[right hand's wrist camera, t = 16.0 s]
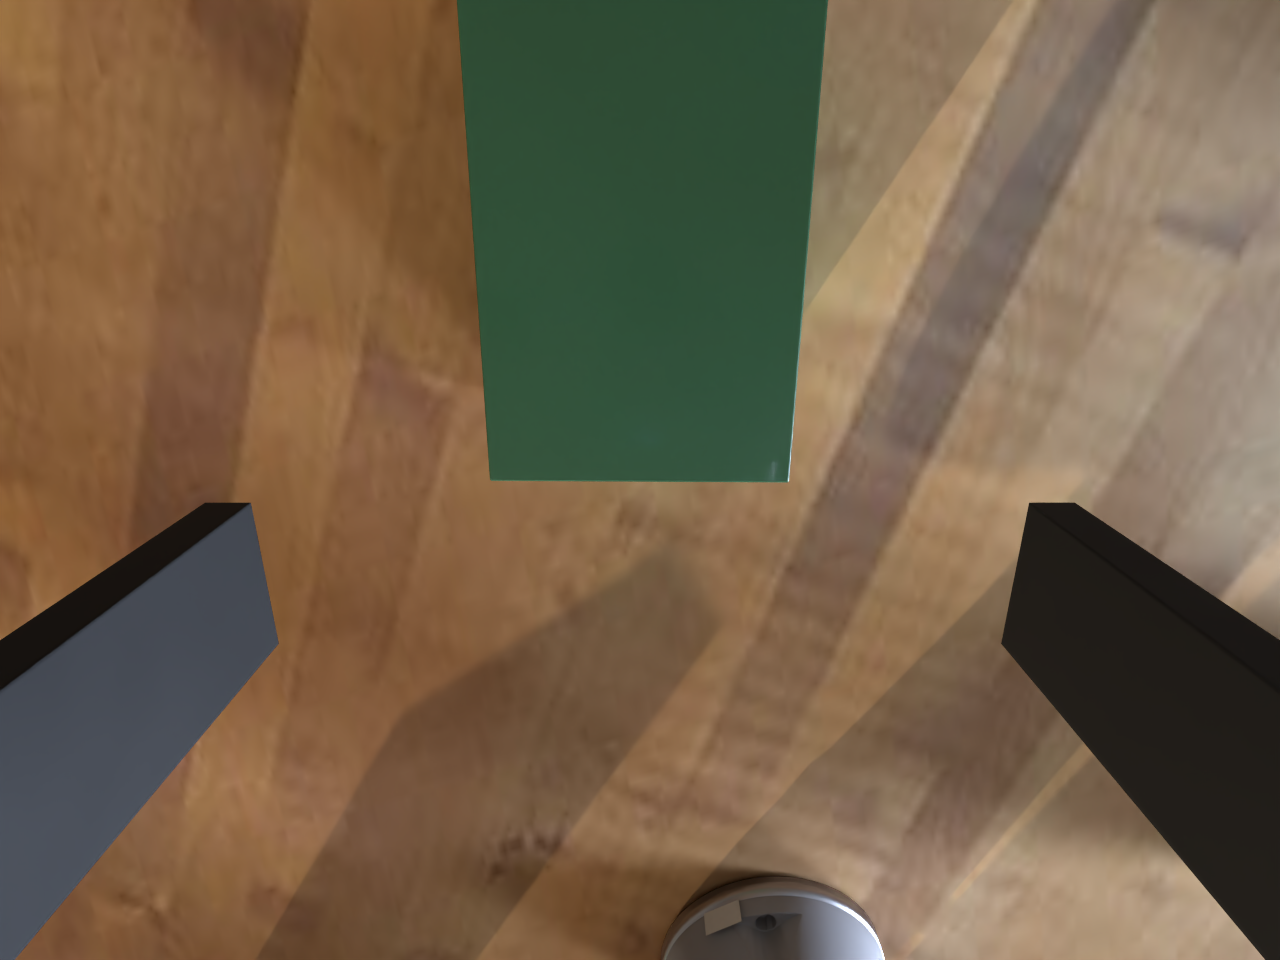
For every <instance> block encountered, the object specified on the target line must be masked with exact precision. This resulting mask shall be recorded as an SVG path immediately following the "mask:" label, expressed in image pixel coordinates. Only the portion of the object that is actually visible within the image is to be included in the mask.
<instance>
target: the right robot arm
mask: <svg viewBox="0 0 1280 960" xmlns="http://www.w3.org/2000/svg"><path fill="white" fill-rule="evenodd" d="M278 644H279V643H278V638H277V633H276V628H275V622H274V617H273V612H272V607H271V602H270V597H269V592H268V587H267V582H266V577H265V572H264V567H263V562H262V557H261V552H260V547H259V542H258V537H257V532H256V527H255V522H254V517H253V512H252V507H251V503H204V504H203V505H201V506H200V507H198V508H197V509H195V510H194V511H192V512H191V513H189V514H188V515H186V516H185V517H183V518H182V519H180V520H179V521H177V522H176V523H174V524H173V525H171V526H170V527H168V528H167V529H165V530H164V531H162V532H161V533H160V534H158V535H157V536H155V537H154V538H152V539H151V540H149V541H148V542H146V543H145V544H143V545H142V546H140V547H139V548H137V549H136V550H134V551H133V552H131V553H130V554H128V555H127V556H125V557H124V558H122V559H121V560H119V561H118V562H116V563H115V564H113V565H112V566H110V567H109V568H107V569H106V570H104V571H103V572H101V573H100V574H98V575H97V576H95V577H94V578H92V579H91V580H89V581H88V582H87V583H85V584H84V585H82V586H81V587H79V588H78V589H76V590H75V591H73V592H72V593H70V594H69V595H67V596H66V597H64V598H63V599H61V600H60V601H58V602H57V603H55V604H54V605H52V606H51V607H49V608H48V609H46V610H45V611H43V612H42V613H40V614H39V615H37V616H36V617H34V618H33V619H31V620H30V621H28V622H27V623H25V624H24V625H22V626H21V627H19V628H18V629H16V630H15V631H13V632H12V633H11V634H9V635H8V636H6V637H5V638H3V639H2V640H0V960H15V959H16V957H17V956H18V955H19V954H20V953H21V951H22V950H23V949H24V948H25V947H26V945H27V944H28V943H29V942H30V941H31V940H32V938H33V937H34V936H35V935H36V934H37V932H38V931H39V930H40V929H41V928H42V926H43V925H44V924H45V923H46V922H47V920H48V919H49V918H50V917H51V916H52V914H53V913H54V912H55V911H56V910H57V908H58V907H59V906H60V905H61V904H62V902H63V901H64V900H65V899H66V898H67V896H68V895H69V894H70V893H71V892H72V890H73V889H74V888H75V887H76V886H77V884H78V883H79V882H80V881H81V880H82V878H83V877H84V876H85V875H86V874H87V872H88V871H89V870H90V869H91V868H92V866H93V865H94V864H95V863H96V862H97V860H98V859H99V858H100V857H101V856H102V855H103V853H104V852H105V851H106V850H107V849H108V847H109V846H110V845H111V844H112V843H113V841H114V840H115V839H116V838H117V837H118V835H119V834H120V833H121V832H122V831H123V829H124V828H125V827H126V826H127V825H128V823H129V822H130V821H131V820H132V819H133V817H134V816H135V815H136V814H137V813H138V811H139V810H140V809H141V808H142V807H143V805H144V804H145V803H146V802H147V801H148V799H149V798H150V797H151V796H152V795H153V793H154V792H155V791H156V790H157V789H158V787H159V786H160V785H161V784H162V783H163V781H164V780H165V779H166V778H167V777H168V775H169V774H170V773H171V772H172V771H173V770H174V768H175V767H176V766H177V765H178V764H179V762H180V761H181V760H182V759H183V758H184V756H185V755H186V754H187V753H188V752H189V750H190V749H191V748H192V747H193V746H194V744H195V743H196V742H197V741H198V740H199V738H200V737H201V736H202V735H203V734H204V732H205V731H206V730H207V729H208V728H209V726H210V725H211V724H212V723H213V722H214V720H215V719H216V718H217V717H218V716H219V714H220V713H221V712H222V711H223V710H224V708H225V707H226V706H227V705H228V704H229V702H230V701H231V700H232V699H233V698H234V696H235V695H236V694H237V693H238V692H239V690H240V689H241V688H242V687H243V686H244V685H245V683H246V682H247V681H248V680H249V679H250V677H251V676H252V675H253V674H254V673H255V671H256V670H257V669H258V668H259V667H260V665H261V664H262V663H263V662H264V661H265V659H266V658H267V657H268V656H269V655H270V653H271V652H272V651H273V650H274V649H275V647H276V646H277V645H278ZM1001 644H1002V645H1003V646H1004V647H1005V649H1006V650H1007V651H1008V652H1009V653H1010V655H1011V656H1012V657H1013V658H1014V659H1015V661H1016V662H1017V663H1018V664H1019V665H1020V667H1021V668H1022V669H1023V670H1024V671H1025V673H1026V674H1027V675H1028V676H1029V677H1030V679H1031V680H1032V681H1033V682H1034V683H1035V685H1036V686H1037V687H1038V688H1039V689H1040V690H1041V692H1042V693H1043V694H1044V695H1045V696H1046V698H1047V699H1048V700H1049V701H1050V702H1051V704H1052V705H1053V706H1054V707H1055V708H1056V710H1057V711H1058V712H1059V713H1060V714H1061V716H1062V717H1063V718H1064V719H1065V720H1066V722H1067V723H1068V724H1069V725H1070V726H1071V728H1072V729H1073V730H1074V731H1075V732H1076V734H1077V735H1078V736H1079V737H1080V738H1081V740H1082V741H1083V742H1084V743H1085V744H1086V746H1087V747H1088V748H1089V749H1090V750H1091V752H1092V753H1093V754H1094V755H1095V756H1096V758H1097V759H1098V760H1099V761H1100V762H1101V764H1102V765H1103V766H1104V767H1105V768H1106V770H1107V771H1108V772H1109V773H1110V774H1111V775H1112V777H1113V778H1114V779H1115V780H1116V781H1117V783H1118V784H1119V785H1120V786H1121V787H1122V789H1123V790H1124V791H1125V792H1126V793H1127V795H1128V796H1129V797H1130V798H1131V799H1132V801H1133V802H1134V803H1135V804H1136V805H1137V807H1138V808H1139V809H1140V810H1141V811H1142V813H1143V814H1144V815H1145V816H1146V817H1147V819H1148V820H1149V821H1150V822H1151V823H1152V825H1153V826H1154V827H1155V828H1156V829H1157V831H1158V832H1159V833H1160V834H1161V835H1162V837H1163V838H1164V839H1165V840H1166V841H1167V843H1168V844H1169V845H1170V846H1171V847H1172V849H1173V850H1174V851H1175V852H1176V853H1177V855H1178V856H1179V857H1180V858H1181V859H1182V860H1183V862H1184V863H1185V864H1186V865H1187V866H1188V868H1189V869H1190V870H1191V871H1192V872H1193V874H1194V875H1195V876H1196V877H1197V878H1198V880H1199V881H1200V882H1201V883H1202V884H1203V886H1204V887H1205V888H1206V889H1207V890H1208V892H1209V893H1210V894H1211V895H1212V896H1213V898H1214V899H1215V900H1216V901H1217V902H1218V904H1219V905H1220V906H1221V907H1222V908H1223V910H1224V911H1225V912H1226V913H1227V914H1228V916H1229V917H1230V918H1231V919H1232V920H1233V922H1234V923H1235V924H1236V925H1237V926H1238V928H1239V929H1240V930H1241V931H1242V932H1243V934H1244V935H1245V936H1246V937H1247V938H1248V940H1249V941H1250V942H1251V943H1252V944H1253V945H1254V947H1255V948H1256V949H1257V950H1258V951H1259V953H1260V954H1261V955H1262V956H1263V957H1264V959H1265V960H1280V640H1278V639H1277V638H1275V637H1274V636H1272V635H1271V634H1269V633H1268V632H1266V631H1265V630H1264V629H1262V628H1261V627H1259V626H1258V625H1256V624H1255V623H1253V622H1252V621H1250V620H1249V619H1247V618H1246V617H1244V616H1243V615H1241V614H1240V613H1238V612H1237V611H1235V610H1234V609H1232V608H1231V607H1229V606H1228V605H1226V604H1225V603H1223V602H1222V601H1220V600H1219V599H1217V598H1216V597H1214V596H1213V595H1211V594H1210V593H1208V592H1207V591H1205V590H1204V589H1202V588H1201V587H1199V586H1198V585H1196V584H1195V583H1193V582H1192V581H1191V580H1189V579H1188V578H1186V577H1185V576H1183V575H1182V574H1180V573H1179V572H1177V571H1176V570H1174V569H1173V568H1171V567H1170V566H1168V565H1167V564H1165V563H1164V562H1162V561H1161V560H1159V559H1158V558H1156V557H1155V556H1153V555H1152V554H1150V553H1149V552H1147V551H1146V550H1144V549H1143V548H1141V547H1140V546H1138V545H1137V544H1135V543H1134V542H1132V541H1131V540H1129V539H1128V538H1126V537H1125V536H1123V535H1122V534H1120V533H1119V532H1118V531H1116V530H1115V529H1113V528H1112V527H1110V526H1109V525H1107V524H1106V523H1104V522H1103V521H1101V520H1100V519H1098V518H1097V517H1095V516H1094V515H1092V514H1091V513H1089V512H1088V511H1086V510H1085V509H1083V508H1082V507H1080V506H1079V505H1077V504H1076V503H1029V507H1028V512H1027V517H1026V522H1025V527H1024V532H1023V537H1022V542H1021V547H1020V552H1019V557H1018V562H1017V567H1016V572H1015V577H1014V582H1013V587H1012V592H1011V597H1010V602H1009V607H1008V612H1007V617H1006V622H1005V628H1004V633H1003V638H1002V643H1001ZM661 960H884V955H883V952H882V948H881V945H880V942H879V939H878V936H877V933H876V930H875V928H874V926H873V923H872V922H871V920H870V918H869V917H868V915H867V914H866V913H865V912H864V910H863V909H862V908H861V907H860V906H859V905H858V904H857V903H856V902H854V901H853V900H852V899H851V898H849V897H848V896H846V895H845V894H843V893H841V892H839V891H837V890H836V889H834V888H831V887H829V886H826V885H824V884H821V883H818V882H814V881H810V880H806V879H800V878H793V877H760V878H753V879H747V880H742V881H738V882H734V883H731V884H728V885H725V886H723V887H720V888H718V889H715V890H713V891H711V892H709V893H707V894H706V895H704V896H702V897H701V898H699V899H697V900H696V901H695V902H693V903H692V904H691V905H689V906H688V907H687V908H686V909H685V910H684V911H683V912H682V913H681V914H680V915H679V916H678V917H677V918H676V920H675V921H674V922H673V924H672V925H671V927H670V929H669V930H668V932H667V934H666V937H665V939H664V942H663V946H662V952H661Z"/></svg>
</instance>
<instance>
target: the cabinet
mask: <svg viewBox="0 0 1280 960" xmlns="http://www.w3.org/2000/svg"><path fill="white" fill-rule="evenodd" d="M827 6H828V0H457V9H458V23H459V38H460V52H461V67H462V81H463V96H464V110H465V125H466V139H467V154H468V168H469V183H470V197H471V212H472V226H473V241H474V255H475V270H476V284H477V298H478V313H479V327H480V342H481V356H482V371H483V385H484V400H485V414H486V429H487V443H488V458H489V472H490V480H491V481H635V482H789V474H790V462H791V449H792V437H793V425H794V413H795V400H796V388H797V376H798V363H799V351H800V339H801V326H802V314H803V302H804V289H805V277H806V265H807V252H808V240H809V228H810V215H811V203H812V191H813V178H814V166H815V154H816V141H817V129H818V117H819V104H820V92H821V80H822V67H823V55H824V43H825V30H826V18H827Z"/></svg>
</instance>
